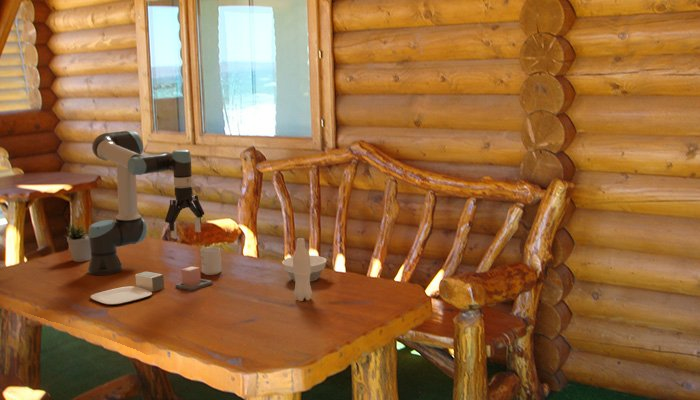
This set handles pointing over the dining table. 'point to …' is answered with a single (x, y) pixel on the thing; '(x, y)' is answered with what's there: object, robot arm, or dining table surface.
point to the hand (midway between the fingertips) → (186, 235)
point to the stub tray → (195, 287)
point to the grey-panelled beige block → (149, 281)
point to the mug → (211, 260)
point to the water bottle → (302, 271)
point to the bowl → (315, 265)
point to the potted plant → (79, 244)
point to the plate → (121, 295)
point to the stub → (191, 276)
